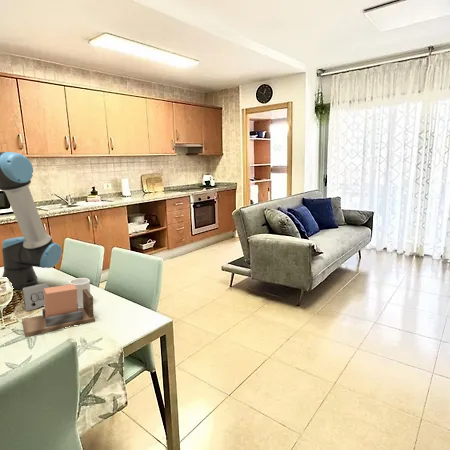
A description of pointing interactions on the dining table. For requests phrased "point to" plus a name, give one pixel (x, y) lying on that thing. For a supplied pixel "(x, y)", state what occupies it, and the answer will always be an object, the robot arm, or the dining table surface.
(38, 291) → the electrical switch
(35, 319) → the wooden block holder
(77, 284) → the mug
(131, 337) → the dining table surface
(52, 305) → the pink block
